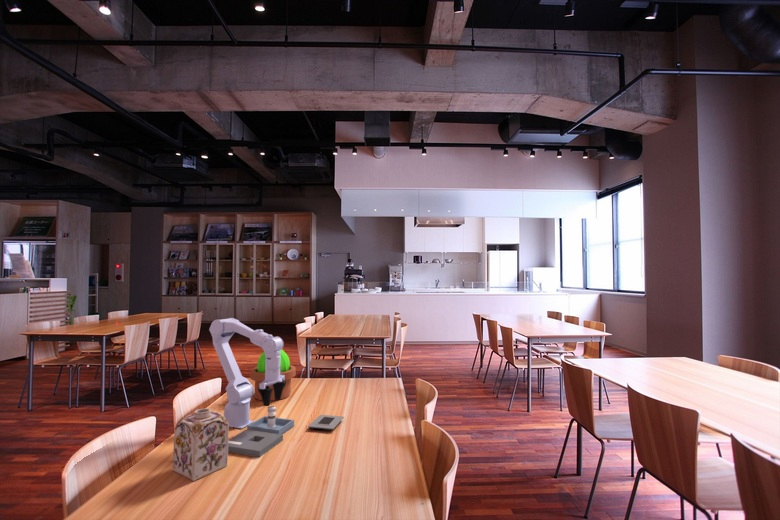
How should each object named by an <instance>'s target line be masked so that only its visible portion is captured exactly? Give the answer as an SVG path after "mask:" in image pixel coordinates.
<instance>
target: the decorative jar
mask: <svg viewBox="0 0 780 520" xmlns="http://www.w3.org/2000/svg"><path fill="white" fill-rule="evenodd" d="M229 428H230V427H229V423H228V422H227V420H226V419H225V417H224V413H221V412H219V411H214V410H213V411H212V410H211V409H210V408H206V407H205V408H200V409H199V408H198V409H196V410H195V411H193V413H192V414H188V415H186V416H185V417H184V418H182V419H181V420H180V421H179V422H178V423H177V424H176V425H175V426H174V434H173V435H174V436H173V437H174V438H173V450H172V451H173V453H172V454H173V457H172V471H174V472H175V473H177V474H179V475H181V476H182V477H185V478H186V479H189V480H190V481H193V482H194V481H198V480H199V479H202V478H204V477H207V476H209V475H210V474H213V473H215V472H217V471H220V470H221V468H222V469H223V468H226V467H227V466H228V462H229V461H228V460H229V459H228V458H229V452H228V440H229V432H230V430H229Z"/></svg>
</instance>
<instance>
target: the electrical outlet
mask: <svg viewBox="0 0 780 520" xmlns="http://www.w3.org/2000/svg"><path fill="white" fill-rule="evenodd" d="M344 418H345V416H342V415H341V416H339V415H327V414H320V415H318V416H317V417H316V418H315V419H314V420H313V421H312V422H311V423H310V424H309V425H308V426H307V427H308V429H314V430H323V431H324V430H325V431H334V430H335V428H336V427H338V425H339V424H340V423H341V422H342V420H344Z"/></svg>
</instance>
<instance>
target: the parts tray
mask: <svg viewBox="0 0 780 520" xmlns="http://www.w3.org/2000/svg"><path fill="white" fill-rule="evenodd" d="M267 423H268V415H267V416H266V415H265V416H264V415H263V416H262V417H261V418H258V419H257V420H254V422H253V423H251V424H249V425H247V426H246V427H247V428H246V430H253V431H260V432H267V433H274V434H281V435H284V434H285V433H287V432H288V431H289V430H292V429H293V428H294V427H295V419H290V418H288V419H287V418H280V417H276V418H275V424H276V428H275V429H271V428H267Z"/></svg>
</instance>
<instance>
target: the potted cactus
mask: <svg viewBox="0 0 780 520" xmlns="http://www.w3.org/2000/svg"><path fill="white" fill-rule="evenodd" d="M256 364H257V365H256V366H255V367H252V368H251V370H250V371H249V375H250V376H249V377H250V378H249V379H250V380H252V381H254V398H255V399H256V400H259V401H263V400H262V397H261V394H260V392H259V391H258V388H259V386H260V383H262V382H263V381H264V380H265V366H266V356H265V352H264V351H263V352H262V353H261V354H260V355H259V358H258V360H257V362H256ZM296 371H297V368H296V366H294V365H292V364H291V360H290V357H289V355H288V354H287V352H285V351H284V349H283V348H282V349H281V359H280V375H285V380H283V381H286V384H285V386H284V389H283V391H282V395H281V399H280V400H284V399H287V398H288V397H290V395H291V391H292V390H291V389H292V383H291V382H292V379H293V378H295V376H296ZM269 388H273V384H272V385H270V386H269ZM280 400H279V401H280ZM273 401H276V400H275V397H274V388H273V391H272V393H271V398H270V402H273Z"/></svg>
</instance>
